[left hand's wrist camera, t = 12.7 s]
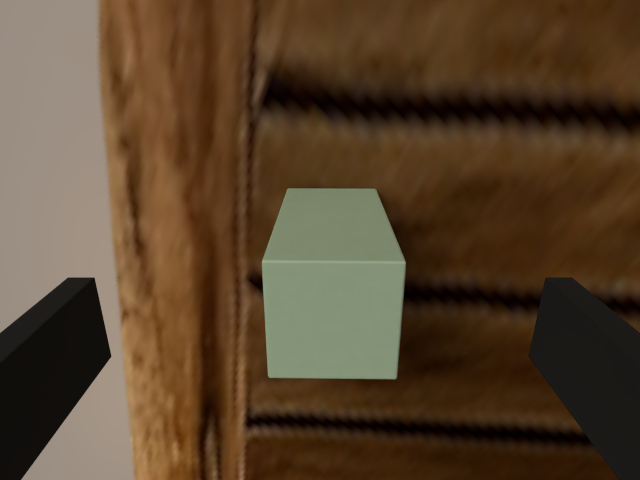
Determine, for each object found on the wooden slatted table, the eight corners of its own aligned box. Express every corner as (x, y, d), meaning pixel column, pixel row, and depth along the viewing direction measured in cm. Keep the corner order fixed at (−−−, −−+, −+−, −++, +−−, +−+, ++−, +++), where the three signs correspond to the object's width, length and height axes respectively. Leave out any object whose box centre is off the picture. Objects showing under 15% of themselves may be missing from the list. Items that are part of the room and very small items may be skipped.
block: (376, 188, 19) (406, 261, 12) (372, 269, 21) (397, 380, 13) (287, 187, 19) (261, 260, 12) (289, 268, 21) (267, 378, 13)
